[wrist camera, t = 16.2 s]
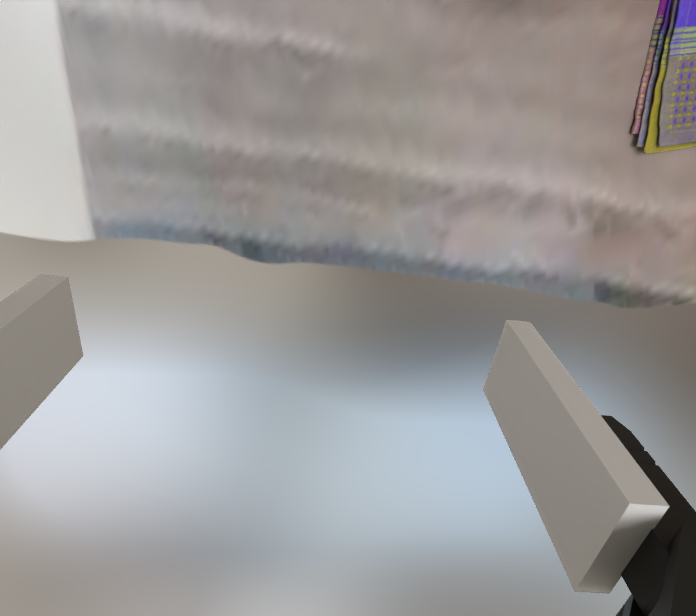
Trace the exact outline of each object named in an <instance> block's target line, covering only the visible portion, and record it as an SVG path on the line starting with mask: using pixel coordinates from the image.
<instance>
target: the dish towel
mask: <svg viewBox="0 0 696 616" xmlns="http://www.w3.org/2000/svg"><path fill="white" fill-rule="evenodd" d="M634 113H635V121H634V124H633V127H632V130H631V134H639V137H638V141H637V145H636V147H644V150H643V153H645V154H651V153H658V152H665V151H671V150H677V149H682V148H688V147H694V146H696V0H660V4H659V8H658V12H657V16H656V20H655V23H654V27H653V31H652V36H651V41H650V45H649V50H648V55H647V59H646V64H645V68H644V72H643V76H642V79H641V85H640V88H639V93H638V98H637V101H636V109H635V112H634Z"/></svg>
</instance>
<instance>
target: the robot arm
mask: <svg viewBox="0 0 696 616" xmlns="http://www.w3.org/2000/svg"><path fill="white" fill-rule="evenodd" d="M82 357H83V352H82V347H81V342H80V336H79V331H78V326H77V321H76V316H75V311H74V305H73V301H72V295H71V290H70V285H69V280H68V277H61V276H50V275H39V276H37V277H36V278H35V279H33V280H32V281H30V282H29V283H27V284H26V285H25V286H23V287H22V288H20V289H19V290H18V291H16V292H14V293H13V294H12V295H10V296H9V297H7V298H6V299H4V300H3V301H2V302H0V449H1V448H2V447H3V446H4V445H5V444H6V443H7V442H8V440H9V439H10V438H11V437H12V436H13V435H14V434H15V432H16V431H17V430H18V429H19V428H20V427H21V426H22V425H23V423H24V422H25V421H26V420H27V419H28V418H29V416H31V414H32V413H33V412H34V411H35V410H36V409H37V408H38V406H39V405H40V404H41V403H42V402H43V401H44V400H45V399H46V397H47V396H48V395H49V394H50V393H51V392H52V391H53V389H54V388H55V387H56V386H57V385H58V384H59V383H60V382H61V380H62V379H63V378H64V377H65V376H66V375H67V374H68V372H69V371H70V370H71V369H72V368H73V367H74V366H75V365H76V363H77V362H78V361H79V360H80V359H81V358H82ZM483 390H484V392H485V395H486V397H487V399H488V401H489V403H490V405H491V408H492V410H493V412H494V414H495V417H496V419H497V421H498V423H499V426H500V428H501V430H502V432H503V434H504V436H505V439H506V441H507V443H508V445H509V448H510V450H511V452H512V454H513V457H514V459H515V461H516V463H517V465H518V468H519V469H520V472H521V474H522V476H523V478H524V481H525V483H526V485H527V487H528V489H529V492H530V494H531V496H532V499H533V501H534V503H535V505H536V507H537V510H538V512H539V514H540V516H541V518H542V521H543V523H544V525H545V527H546V529H547V532H548V534H549V536H550V538H551V540H552V543H553V545H554V547H555V549H556V551H557V554H558V556H559V558H560V560H561V562H562V565H563V567H564V569H565V571H566V573H567V576H568V578H569V580H570V582H571V585H572V587H573V589H574V591H575V592H590V593H610V592H611V591H612V589H613V587H614V586H615V585H616V583H617V582H618V580H619V579H620V577H621V576H622V577H623V579H624V580H625V582H626V584H627V586H628V588H629V590H630V592H631V593H632V594H631V596H630V597H629V598H628V600H627V601H626V602H625V604H624V605H623V607H622V608H621V609H620V611H619V612H618V613H617V615H616V616H696V512H695V510H694V509H693V508H692V507H691V506H690V504H689V503H688V502H687V501H686V499H685V498H684V497H683V496H682V494H680V492H679V491H678V489H677V488H676V487H675V486H674V484H673V483H672V482H671V481H670V479H669V478H668V477H667V476H666V475H665V473H664V472H663V471H662V470H661V468H660V467H659V466H657V465H655V461H654V460H653V458H652V457H651V456H650V455H649V453H648V452H647V451H644V447H643V446H642V445H641V444H640V442H639V441H638V440H637V439H636V437H635V436H634V435H633V434H632V432H631V431H630V430H628V429H627V428H626V427H625V426H623V425H622V424H621V423H619V422H618V421H617V420H616V419H614V418H613V417H612V416H602V415H600V414H599V412H598V411H597V410H596V408H595V407H594V406H593V404H592V403H591V402H590V400H589V399H588V398H587V396H586V395H585V394H584V393H583V391H582V390H581V389H580V387H579V386H578V385H577V383H576V382H575V381H574V379H573V378H572V377H571V375H570V374H569V373H568V371H567V370H566V369H565V367H564V366H563V365H562V363H561V362H560V361H559V359H558V358H557V357H556V356H555V354H554V353H553V352H552V350H551V349H550V348H549V346H548V345H547V344H546V342H545V341H544V340H543V338H542V337H541V336H540V334H539V333H538V332H537V330H536V329H535V328H534V326H533V325H532V324H531V323H530V322H524V321H514V320H506V323H505V326H504V329H503V332H502V335H501V338H500V341H499V344H498V347H497V350H496V353H495V356H494V359H493V362H492V365H491V368H490V371H489V374H488V377H487V380H486V383H485V386H484V389H483Z"/></svg>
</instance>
